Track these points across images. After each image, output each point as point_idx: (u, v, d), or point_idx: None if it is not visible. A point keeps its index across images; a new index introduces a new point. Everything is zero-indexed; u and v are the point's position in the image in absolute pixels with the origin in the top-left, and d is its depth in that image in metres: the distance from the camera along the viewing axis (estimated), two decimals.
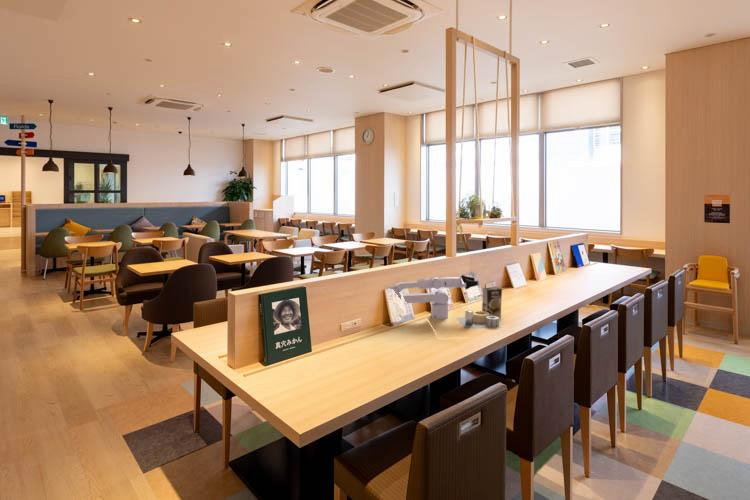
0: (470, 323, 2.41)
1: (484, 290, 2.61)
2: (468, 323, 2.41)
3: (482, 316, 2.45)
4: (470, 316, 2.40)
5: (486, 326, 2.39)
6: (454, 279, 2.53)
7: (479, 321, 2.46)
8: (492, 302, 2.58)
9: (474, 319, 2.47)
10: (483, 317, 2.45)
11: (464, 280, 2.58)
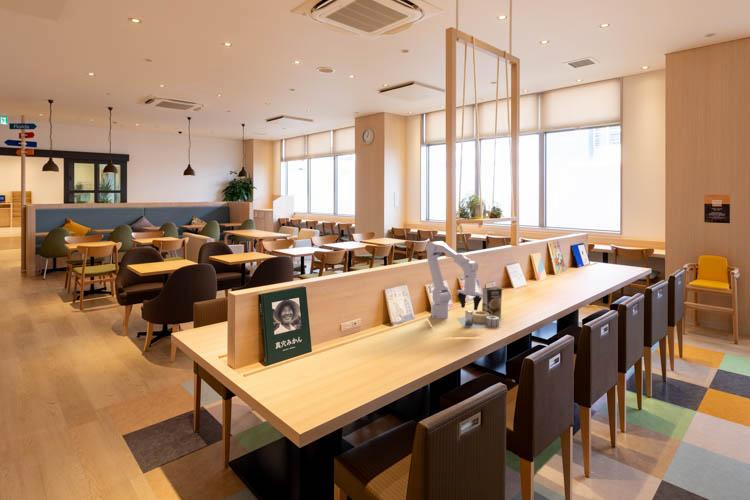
0: (470, 323, 2.41)
1: (484, 290, 2.61)
2: (468, 323, 2.41)
3: (482, 316, 2.45)
4: (470, 316, 2.40)
5: (486, 326, 2.39)
6: (464, 285, 2.40)
7: (479, 321, 2.46)
8: (492, 302, 2.58)
9: (474, 319, 2.47)
10: (483, 317, 2.45)
11: None
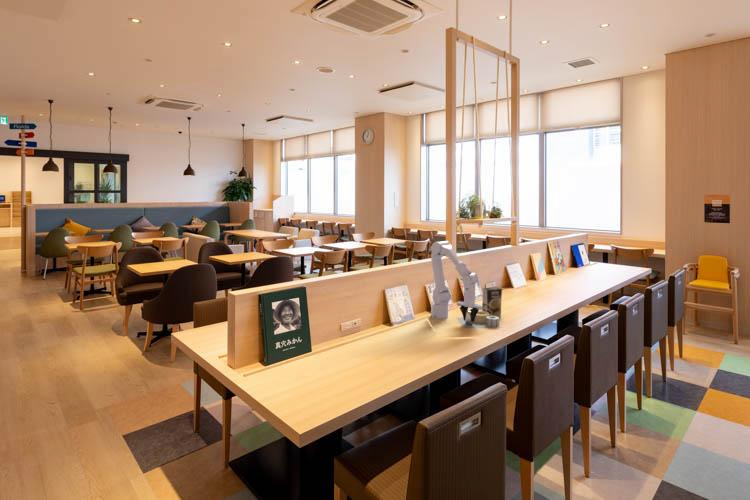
0: (470, 323, 2.41)
1: (484, 290, 2.61)
2: (468, 323, 2.41)
3: (482, 316, 2.45)
4: (470, 316, 2.40)
5: (486, 326, 2.39)
6: (464, 297, 2.41)
7: (479, 321, 2.46)
8: (492, 302, 2.58)
9: None
10: (483, 317, 2.45)
11: None
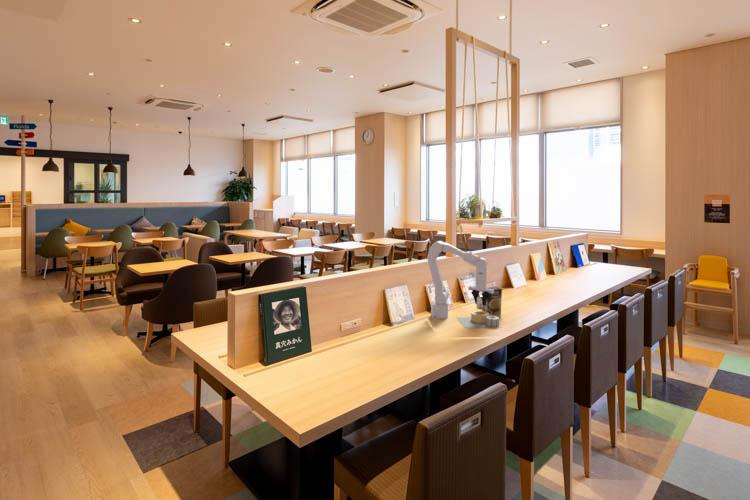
0: (481, 307, 2.47)
1: None
2: (479, 307, 2.47)
3: (482, 316, 2.45)
4: (481, 300, 2.47)
5: (486, 326, 2.39)
6: (476, 282, 2.47)
7: (479, 321, 2.46)
8: (492, 302, 2.58)
9: (474, 319, 2.47)
10: (483, 317, 2.45)
11: None
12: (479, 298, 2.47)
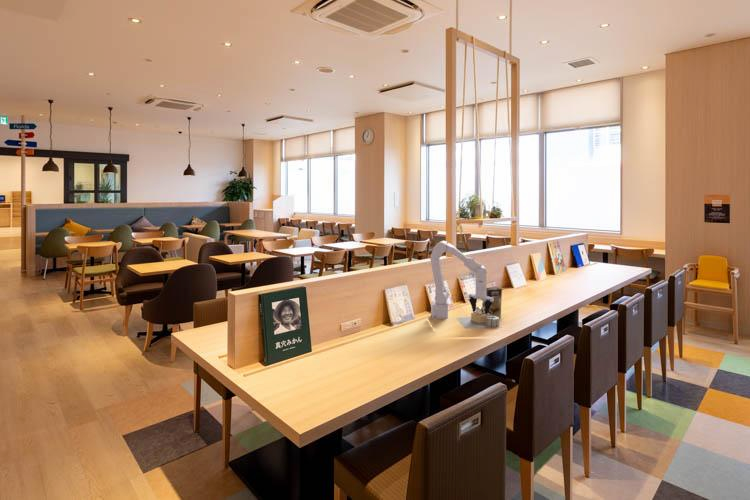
0: None
1: None
2: None
3: (482, 316, 2.45)
4: (481, 312, 2.48)
5: (486, 326, 2.39)
6: None
7: (479, 321, 2.46)
8: (492, 302, 2.58)
9: (474, 319, 2.47)
10: (483, 317, 2.45)
11: None
12: (479, 310, 2.48)
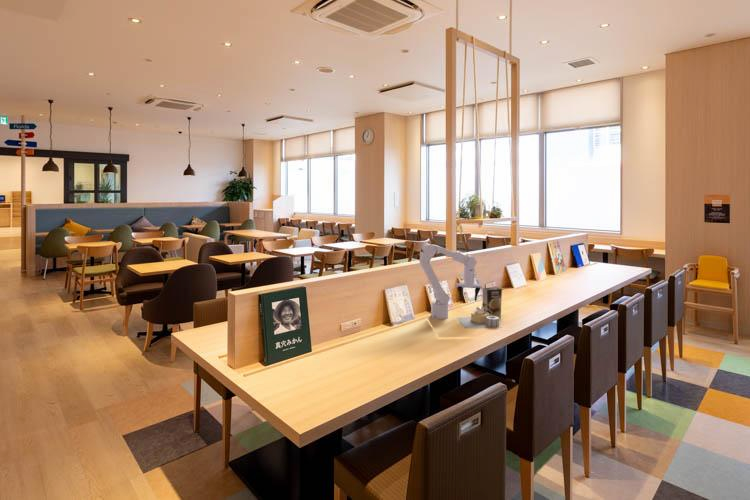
0: None
1: (484, 290, 2.61)
2: None
3: (482, 316, 2.45)
4: (481, 312, 2.48)
5: (486, 326, 2.39)
6: (465, 278, 2.56)
7: (479, 321, 2.46)
8: (492, 302, 2.58)
9: (474, 319, 2.47)
10: (483, 317, 2.45)
11: None
12: (479, 310, 2.48)
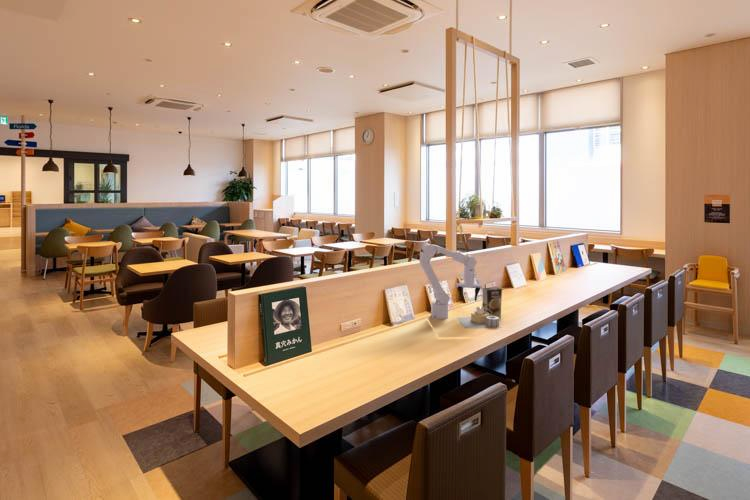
0: None
1: (484, 290, 2.61)
2: None
3: (482, 316, 2.45)
4: (481, 312, 2.48)
5: (486, 326, 2.39)
6: (465, 278, 2.56)
7: (479, 321, 2.46)
8: (492, 302, 2.58)
9: (474, 319, 2.47)
10: (483, 317, 2.45)
11: None
12: (479, 310, 2.48)
